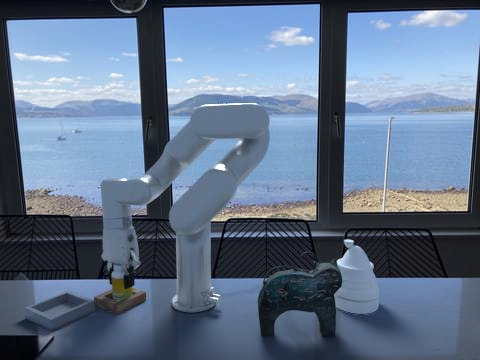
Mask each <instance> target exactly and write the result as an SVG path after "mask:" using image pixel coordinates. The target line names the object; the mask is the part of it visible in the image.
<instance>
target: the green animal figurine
mask: <svg viewBox="0 0 480 360" xmlns="http://www.w3.org/2000/svg"><path fill="white" fill-rule="evenodd" d="M305 255H312V256H314V258H315V260H312V264H313V267H312V268H311V269H304V268H303V269H302V268H297V267H295V266H291V265H279V266H275V267H273V268H271V269H269V270H268V271H267V272H266V274H265V275H264V277H263V281H262V286H261V288H260V291H259V293H258V297H257V311H258V321H259V329H260V336H261V337H269V338H270V337H274V336H275V324H276V321H277V319H278V318H279V316H281V315H282V314H284V313H286V312H289V311H290V312H291V311H297V312H304V313H305V312H306V313H314V314H315V315H316V317H317V321H318V325H319V333H320V334H321V337H328V336H329V337H330V336H331V337H335V336H336V329H337V308H336V305H335V297H334V294H335V293H336V292H337V291H338V290H339V289H340V288H341V286H342V282H343V280H342V274H341V271H340V269H339V267H338V264H337V259H336V258H333V259H332V260H331V261H330V262H321V263H319V262H318V261H317V257H316V254H315V253H314V252H311V251H305V252H303V253H301V255H300V258H301V259H302V258H303V256H305ZM283 268H288V270H287V269H285V270H280V271H276V272H275V273H273V274H271V275H269V274H270V273H271V272H273V271H275V270H278V269H283ZM289 268H290V269H289ZM268 275H269V277H268V278H267V276H268ZM266 278H267V279H266Z"/></svg>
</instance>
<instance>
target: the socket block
mask: <svg viewBox="0 0 480 360" xmlns="http://www.w3.org/2000/svg"><path fill="white" fill-rule="evenodd" d="M93 300H94V304H95V307H97V308H100V309H102V310H105V311H107V312H110V313H113V314H116V315H120V314H122V313H124V312H126V311H128V310H130V309H132V308H133V307H136V306H138V305H140V304H142V303H144V302H145V301H147V292H146V291H144V290H142V289H138V288H135V287H132V295H131V296H129V297H127V298H125V299H123V300H115V299H114V298H113V294H112V288H111V289H110V290H107V291H105V292H102V293H100V294H98V295H95V296H94V297H93Z"/></svg>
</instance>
